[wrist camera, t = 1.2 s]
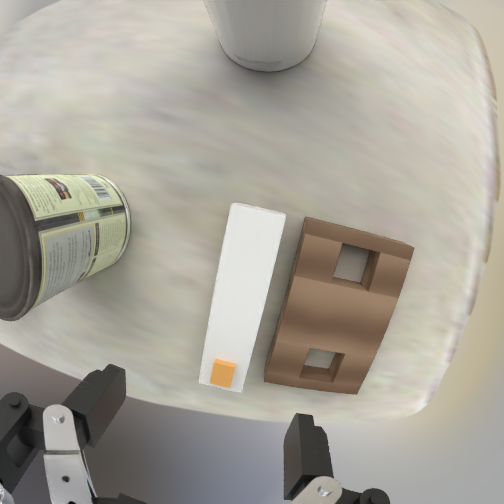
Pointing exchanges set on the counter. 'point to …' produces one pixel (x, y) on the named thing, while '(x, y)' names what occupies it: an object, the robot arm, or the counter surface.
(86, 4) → the counter surface
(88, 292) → the counter surface
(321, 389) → the mounting board
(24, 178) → the coffee can
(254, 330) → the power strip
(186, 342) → the counter surface
